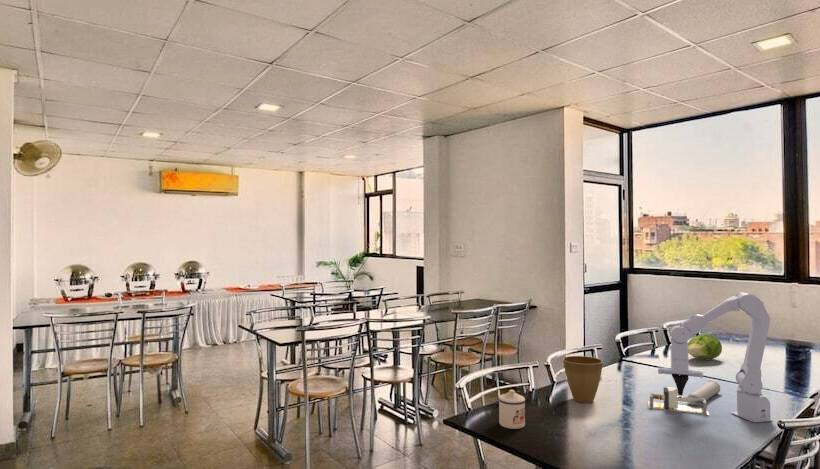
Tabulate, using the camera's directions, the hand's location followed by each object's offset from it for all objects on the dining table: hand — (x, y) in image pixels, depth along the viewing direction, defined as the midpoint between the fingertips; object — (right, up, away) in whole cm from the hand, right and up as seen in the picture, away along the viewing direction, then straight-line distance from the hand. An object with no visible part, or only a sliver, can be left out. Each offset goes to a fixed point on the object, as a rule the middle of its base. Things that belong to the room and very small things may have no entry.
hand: (680, 394), depth 180 cm
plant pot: (-33, -6, +10) cm, 35 cm away
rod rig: (-1, -5, 0) cm, 5 cm away
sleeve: (-2, -5, +1) cm, 6 cm away
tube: (+15, -6, +11) cm, 20 cm away
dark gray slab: (-4, -5, +2) cm, 7 cm away
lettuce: (+53, -7, +74) cm, 92 cm away
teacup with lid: (-66, -5, -15) cm, 67 cm away
